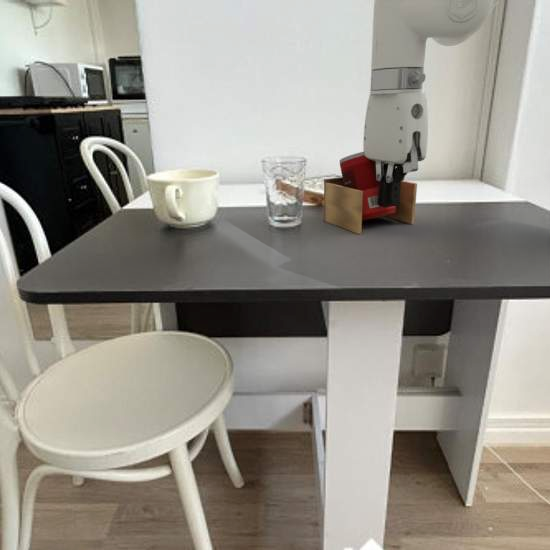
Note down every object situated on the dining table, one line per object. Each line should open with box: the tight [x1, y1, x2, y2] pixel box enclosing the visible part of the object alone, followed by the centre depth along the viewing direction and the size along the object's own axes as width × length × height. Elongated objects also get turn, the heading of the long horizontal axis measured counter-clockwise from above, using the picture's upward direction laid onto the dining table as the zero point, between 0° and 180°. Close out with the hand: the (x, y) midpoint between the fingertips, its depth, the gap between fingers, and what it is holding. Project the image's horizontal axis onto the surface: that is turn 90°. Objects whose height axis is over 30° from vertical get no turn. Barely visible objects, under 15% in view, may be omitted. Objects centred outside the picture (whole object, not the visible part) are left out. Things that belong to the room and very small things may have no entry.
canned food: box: [339, 150, 396, 221], centre depth 76 cm, size 8×8×11 cm
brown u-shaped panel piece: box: [323, 176, 418, 235], centre depth 77 cm, size 11×12×8 cm
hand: (388, 205), depth 72 cm, fingers closed
